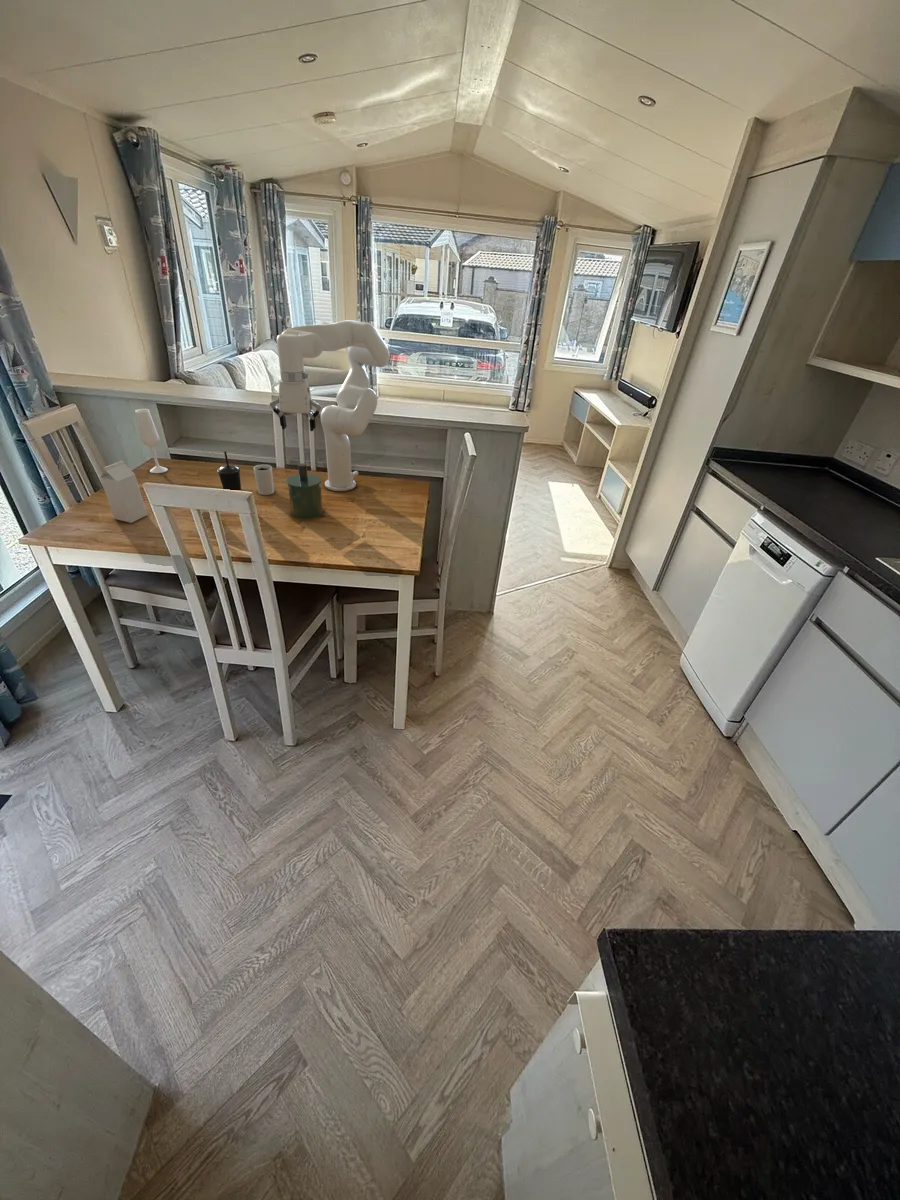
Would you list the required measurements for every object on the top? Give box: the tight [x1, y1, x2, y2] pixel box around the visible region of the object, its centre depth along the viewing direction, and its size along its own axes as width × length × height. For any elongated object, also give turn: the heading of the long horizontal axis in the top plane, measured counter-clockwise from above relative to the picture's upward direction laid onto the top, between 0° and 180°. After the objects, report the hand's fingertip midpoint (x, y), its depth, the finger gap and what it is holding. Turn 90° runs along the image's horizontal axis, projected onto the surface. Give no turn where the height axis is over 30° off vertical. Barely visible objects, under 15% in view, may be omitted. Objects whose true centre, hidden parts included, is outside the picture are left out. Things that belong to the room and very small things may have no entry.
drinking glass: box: [252, 464, 275, 496], centre depth 195 cm, size 7×7×10 cm
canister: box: [287, 483, 324, 520], centre depth 181 cm, size 11×11×12 cm
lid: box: [285, 462, 322, 488], centre depth 176 cm, size 12×12×7 cm
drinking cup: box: [216, 451, 242, 491], centre depth 181 cm, size 8×8×20 cm
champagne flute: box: [134, 408, 169, 474], centre depth 201 cm, size 7×7×24 cm
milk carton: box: [99, 460, 148, 524], centre depth 168 cm, size 7×7×19 cm
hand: (298, 429), depth 174 cm, fingers open, 9 cm apart
